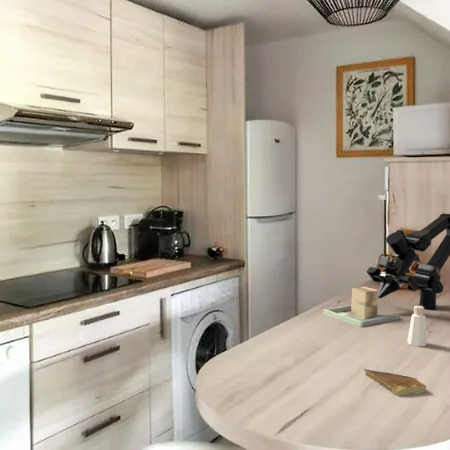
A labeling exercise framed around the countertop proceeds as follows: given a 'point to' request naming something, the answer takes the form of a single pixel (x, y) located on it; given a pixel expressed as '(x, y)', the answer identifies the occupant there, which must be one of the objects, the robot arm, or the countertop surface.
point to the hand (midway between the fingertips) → (378, 297)
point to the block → (364, 302)
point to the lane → (358, 321)
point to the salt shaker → (417, 328)
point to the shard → (397, 382)
